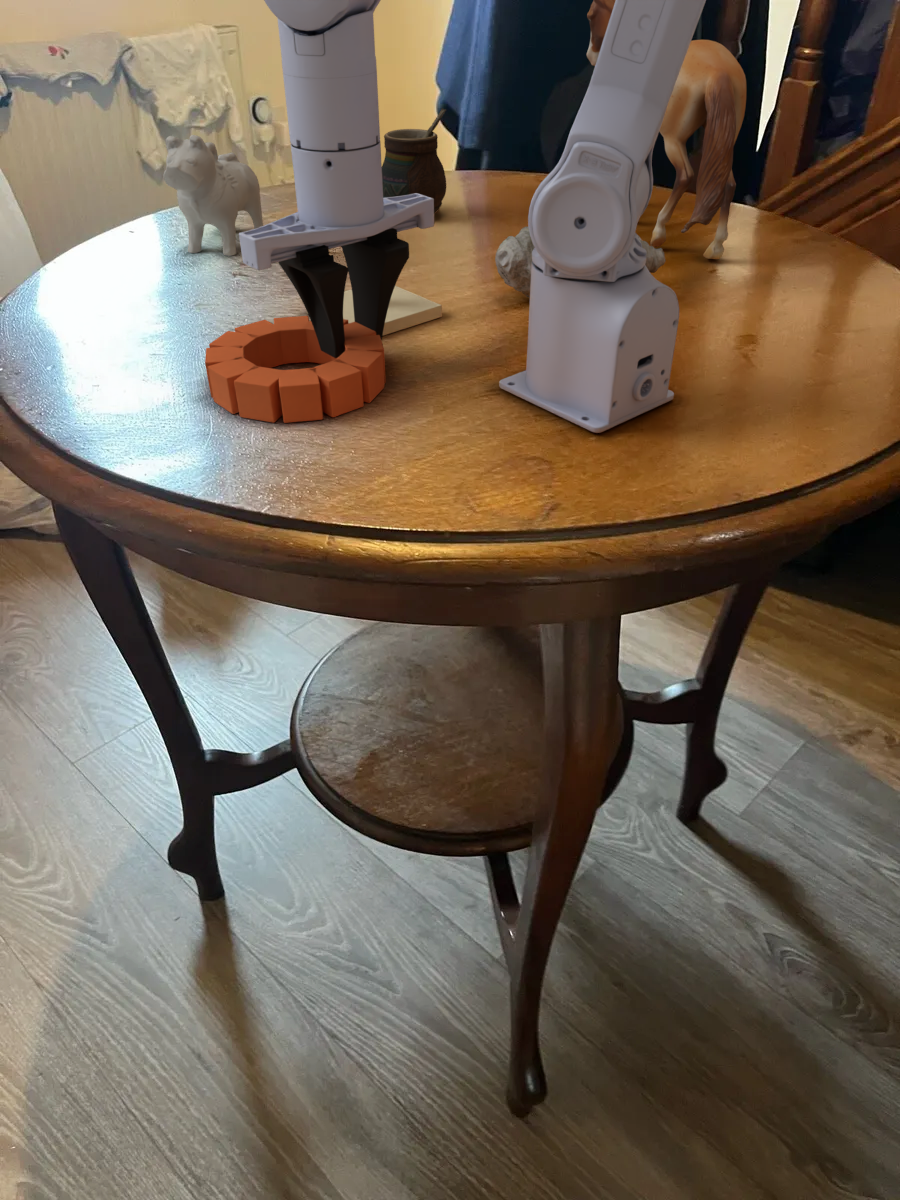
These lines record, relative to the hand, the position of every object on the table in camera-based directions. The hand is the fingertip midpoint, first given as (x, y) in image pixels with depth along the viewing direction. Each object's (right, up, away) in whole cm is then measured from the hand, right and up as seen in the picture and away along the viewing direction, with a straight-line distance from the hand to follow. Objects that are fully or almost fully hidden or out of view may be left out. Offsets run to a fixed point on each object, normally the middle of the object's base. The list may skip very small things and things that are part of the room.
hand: (351, 346), depth 66 cm
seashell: (+18, +8, +12) cm, 23 cm away
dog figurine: (-15, +17, +24) cm, 33 cm away
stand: (+1, +5, +9) cm, 10 cm away
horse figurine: (+25, +18, +25) cm, 40 cm away
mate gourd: (+3, +23, +32) cm, 40 cm away
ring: (-4, -3, -1) cm, 5 cm away
